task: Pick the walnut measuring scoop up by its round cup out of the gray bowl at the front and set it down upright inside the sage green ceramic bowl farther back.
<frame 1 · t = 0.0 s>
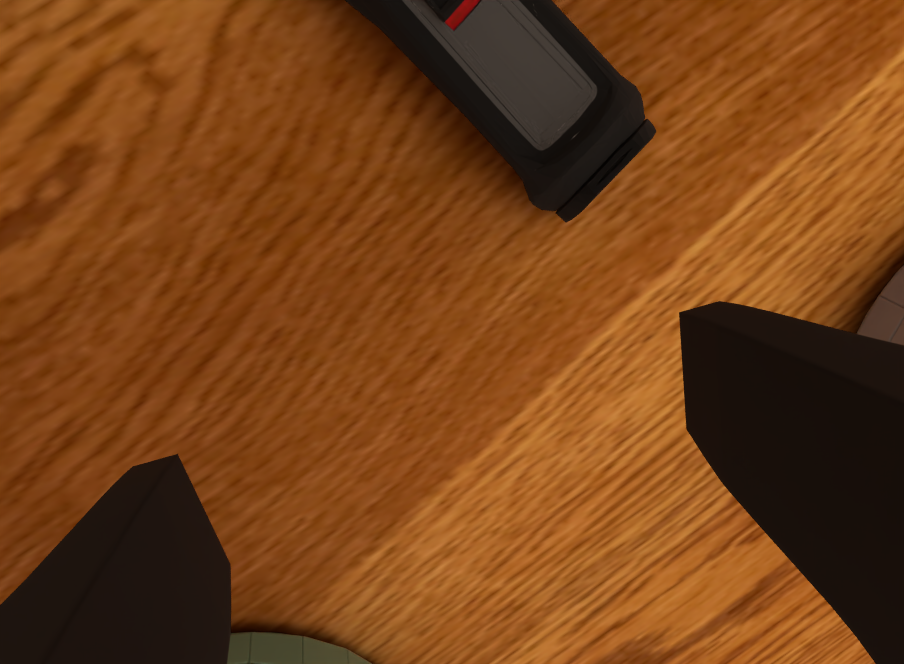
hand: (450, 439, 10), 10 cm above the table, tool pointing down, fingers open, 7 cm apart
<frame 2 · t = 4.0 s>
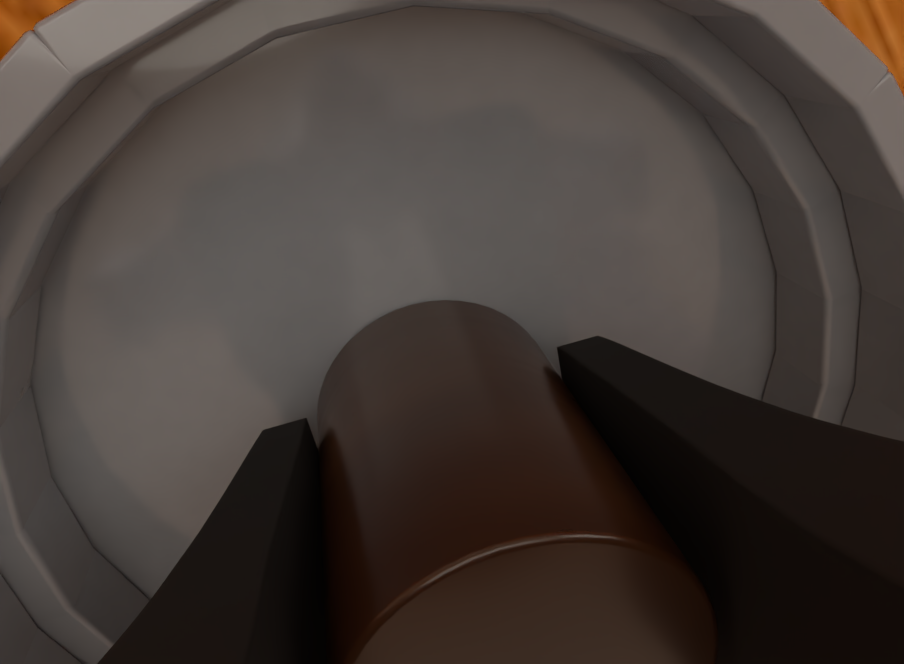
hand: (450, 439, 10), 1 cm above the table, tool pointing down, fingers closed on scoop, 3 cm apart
gray bowl: (433, 391, 11), on the table
scoop: (437, 407, 11), point 1 cm above the table, touching gripper, gray bowl
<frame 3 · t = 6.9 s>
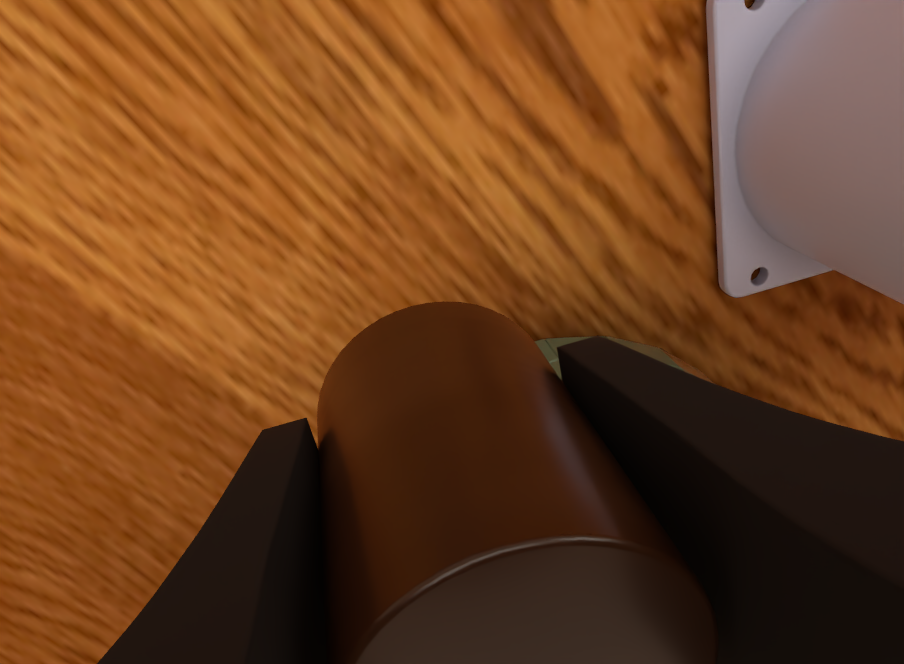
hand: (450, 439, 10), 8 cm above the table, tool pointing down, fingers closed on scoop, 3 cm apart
scoop: (437, 409, 11), point 7 cm above the table, touching gripper
green bowl: (545, 517, 22), on the table
when the fingers open (1 cm above the table, at t = 9.9 s): scoop stays where it is, resting on green bowl.
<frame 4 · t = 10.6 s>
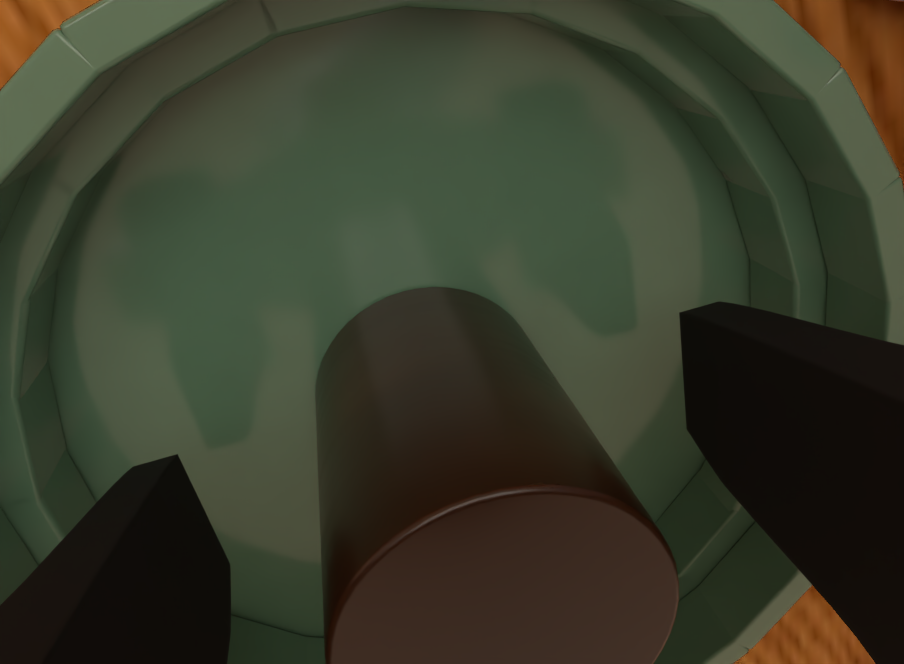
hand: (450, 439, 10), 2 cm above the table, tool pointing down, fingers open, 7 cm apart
scoop: (428, 389, 11), resting on green bowl
green bowl: (426, 371, 12), on the table
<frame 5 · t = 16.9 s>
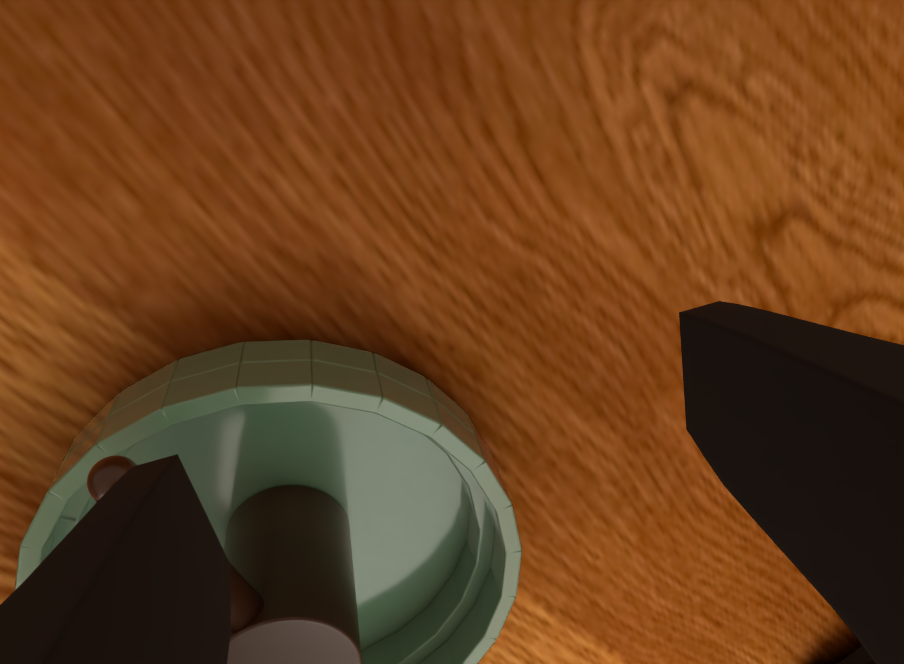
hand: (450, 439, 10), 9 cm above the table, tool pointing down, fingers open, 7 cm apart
scoop: (289, 533, 21), resting on green bowl
green bowl: (288, 524, 21), on the table
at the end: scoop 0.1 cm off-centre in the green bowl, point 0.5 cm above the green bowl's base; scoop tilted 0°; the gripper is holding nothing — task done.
